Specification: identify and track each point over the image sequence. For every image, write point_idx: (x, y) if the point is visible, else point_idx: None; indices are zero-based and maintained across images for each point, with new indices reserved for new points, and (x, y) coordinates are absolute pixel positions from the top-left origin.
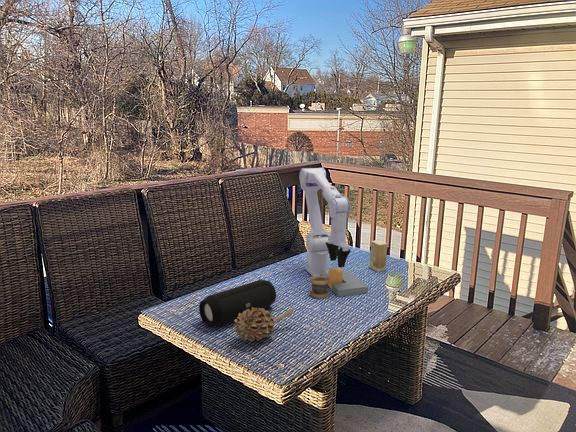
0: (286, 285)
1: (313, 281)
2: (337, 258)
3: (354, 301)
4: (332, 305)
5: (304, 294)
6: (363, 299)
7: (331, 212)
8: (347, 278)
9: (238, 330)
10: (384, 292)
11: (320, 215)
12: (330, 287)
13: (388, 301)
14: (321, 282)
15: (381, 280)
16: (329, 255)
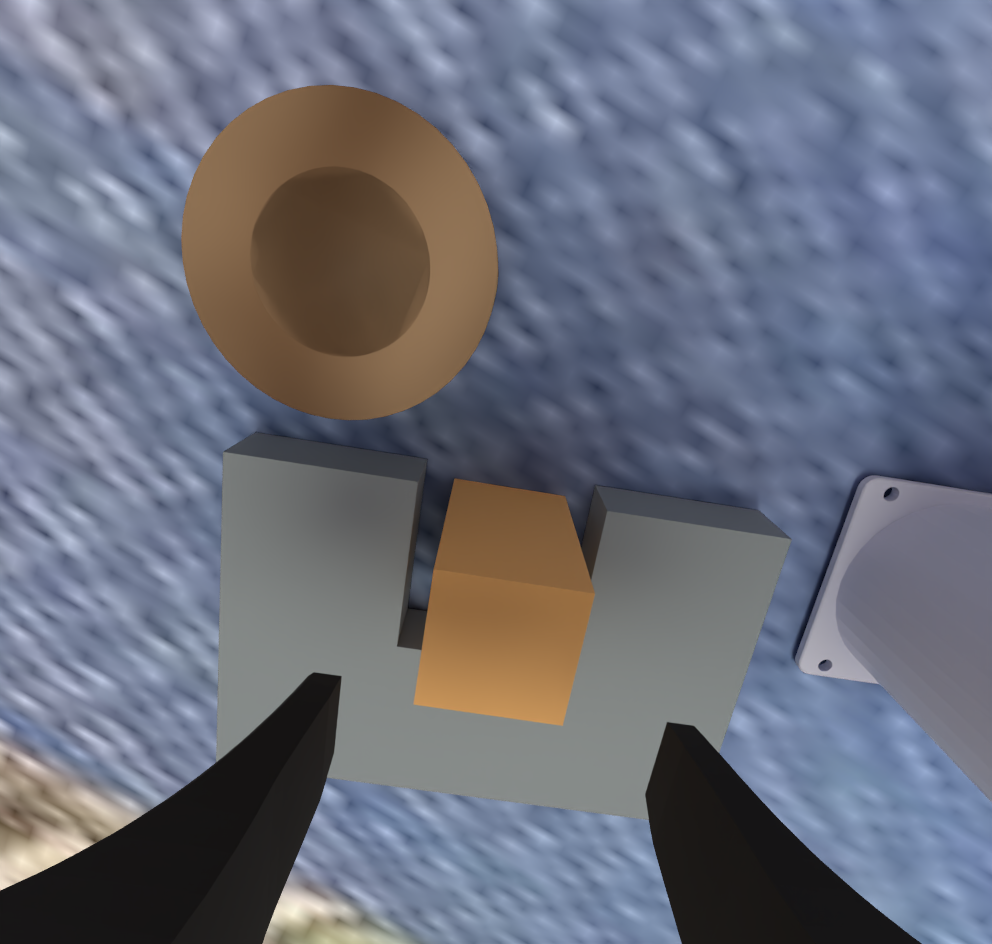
0: (833, 5)
1: (275, 99)
2: (265, 781)
3: (99, 509)
4: (60, 245)
5: (457, 92)
6: (121, 606)
7: None
8: None
9: None
10: None
11: None
12: (503, 486)
13: (27, 755)
14: (193, 213)
15: (448, 938)
16: (743, 785)
